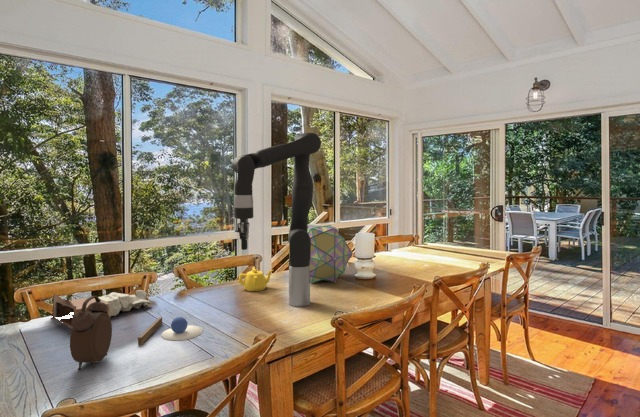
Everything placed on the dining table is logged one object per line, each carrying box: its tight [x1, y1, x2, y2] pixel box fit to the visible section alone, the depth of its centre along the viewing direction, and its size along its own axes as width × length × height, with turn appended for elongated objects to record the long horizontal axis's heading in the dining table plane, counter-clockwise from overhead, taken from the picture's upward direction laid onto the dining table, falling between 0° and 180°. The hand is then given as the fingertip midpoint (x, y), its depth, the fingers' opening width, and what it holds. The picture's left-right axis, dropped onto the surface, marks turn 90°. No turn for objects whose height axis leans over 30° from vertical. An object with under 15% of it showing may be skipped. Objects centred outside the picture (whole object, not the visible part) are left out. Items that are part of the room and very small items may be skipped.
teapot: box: [238, 266, 274, 292], centre depth 202 cm, size 14×13×10 cm
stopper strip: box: [137, 316, 163, 346], centre depth 142 cm, size 1×20×2 cm, turn 3°
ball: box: [170, 316, 188, 333], centre depth 143 cm, size 6×6×6 cm
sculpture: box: [307, 224, 354, 285], centre depth 219 cm, size 30×30×30 cm
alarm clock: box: [69, 295, 113, 371], centre depth 118 cm, size 15×7×20 cm, turn 5°
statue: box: [51, 289, 152, 335], centre depth 162 cm, size 24×35×10 cm
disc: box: [161, 324, 203, 342], centre depth 143 cm, size 14×14×1 cm
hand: (244, 249), depth 160 cm, fingers closed
